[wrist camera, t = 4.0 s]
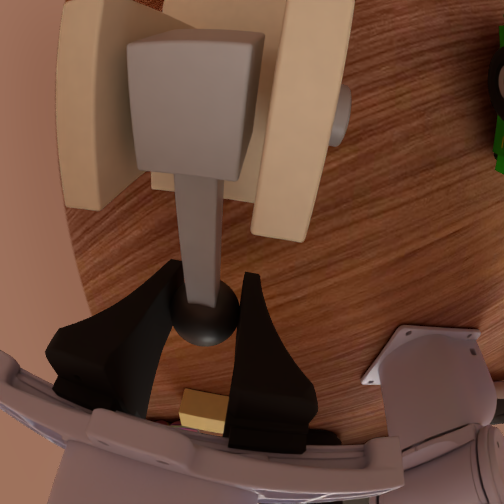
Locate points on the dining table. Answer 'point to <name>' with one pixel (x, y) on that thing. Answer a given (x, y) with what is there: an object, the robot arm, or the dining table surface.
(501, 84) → the toy car
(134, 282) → the dining table surface
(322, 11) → the wooden lever stand
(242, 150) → the arcade joystick
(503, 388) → the figurine
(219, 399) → the butter
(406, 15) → the dining table surface
